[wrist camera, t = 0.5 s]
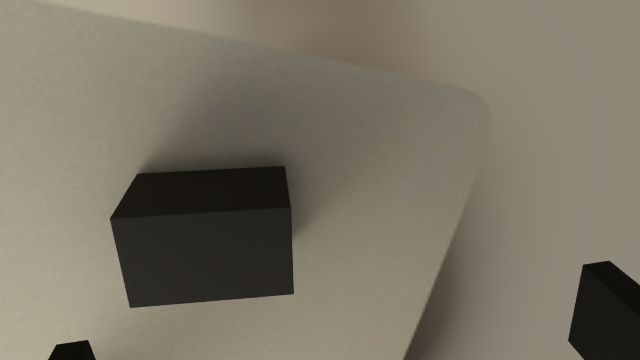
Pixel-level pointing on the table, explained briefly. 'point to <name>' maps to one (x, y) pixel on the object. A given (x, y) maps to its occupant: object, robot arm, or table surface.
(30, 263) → the table surface
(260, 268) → the black box
